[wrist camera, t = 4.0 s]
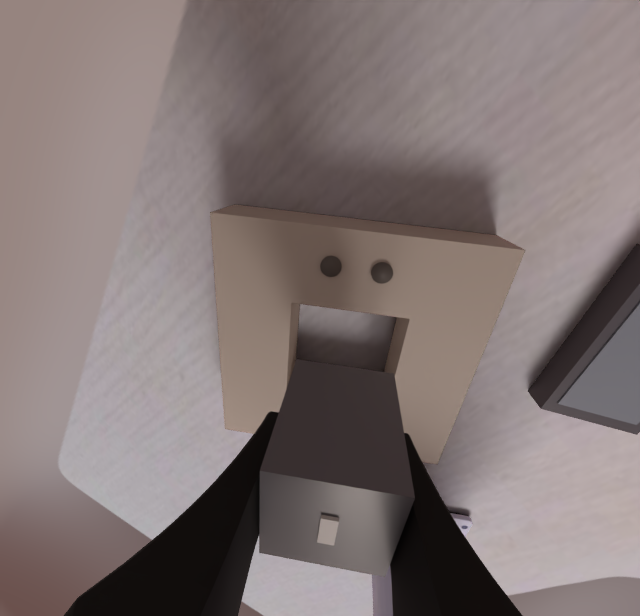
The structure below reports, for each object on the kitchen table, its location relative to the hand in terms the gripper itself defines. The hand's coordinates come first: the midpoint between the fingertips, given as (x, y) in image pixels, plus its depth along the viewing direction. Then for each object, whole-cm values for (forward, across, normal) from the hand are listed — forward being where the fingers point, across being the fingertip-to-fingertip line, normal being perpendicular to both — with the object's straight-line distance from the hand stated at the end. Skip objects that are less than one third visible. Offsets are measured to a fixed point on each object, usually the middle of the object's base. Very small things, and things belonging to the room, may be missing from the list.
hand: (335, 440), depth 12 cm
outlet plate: (+8, 0, 0) cm, 8 cm away
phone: (+9, -16, -2) cm, 18 cm away
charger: (+2, 0, 0) cm, 2 cm away
